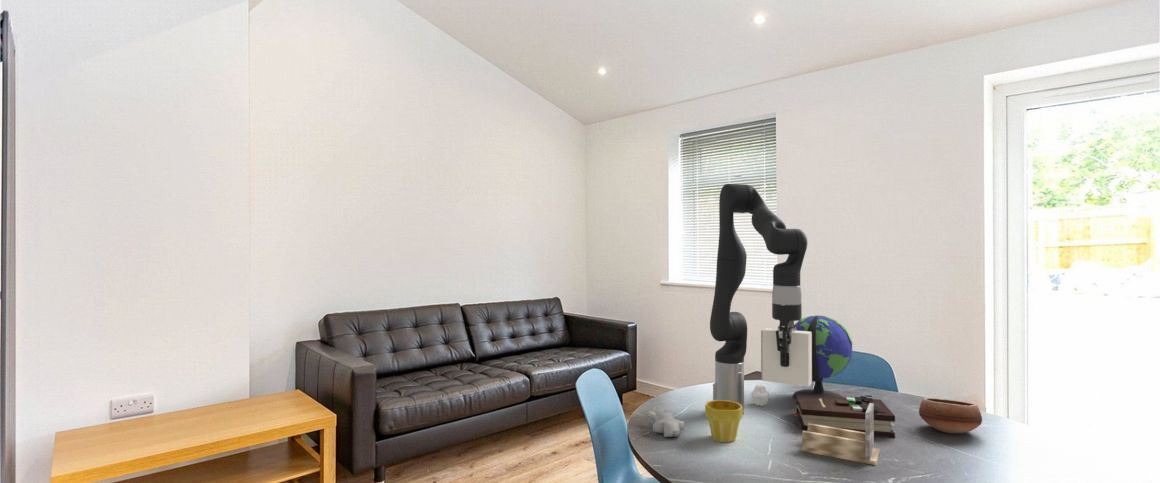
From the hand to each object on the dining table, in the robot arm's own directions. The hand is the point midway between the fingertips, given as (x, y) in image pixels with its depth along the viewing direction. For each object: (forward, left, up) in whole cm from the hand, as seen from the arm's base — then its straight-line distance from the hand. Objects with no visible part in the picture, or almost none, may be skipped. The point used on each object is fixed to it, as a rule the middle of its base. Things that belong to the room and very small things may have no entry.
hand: (786, 364), depth 153 cm
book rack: (+13, +6, -23) cm, 27 cm away
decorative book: (+10, +31, -24) cm, 40 cm away
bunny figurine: (-34, -3, -24) cm, 42 cm away
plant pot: (-17, -1, -24) cm, 29 cm away
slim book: (0, 0, -5) cm, 5 cm away
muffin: (-17, +38, -24) cm, 48 cm away
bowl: (+38, +40, -24) cm, 60 cm away
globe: (-1, +56, -24) cm, 61 cm away
